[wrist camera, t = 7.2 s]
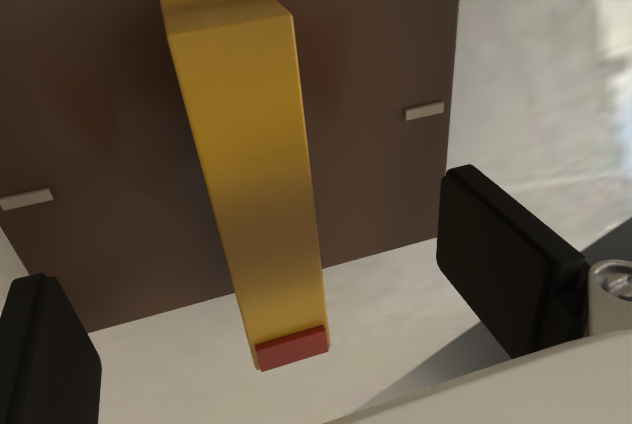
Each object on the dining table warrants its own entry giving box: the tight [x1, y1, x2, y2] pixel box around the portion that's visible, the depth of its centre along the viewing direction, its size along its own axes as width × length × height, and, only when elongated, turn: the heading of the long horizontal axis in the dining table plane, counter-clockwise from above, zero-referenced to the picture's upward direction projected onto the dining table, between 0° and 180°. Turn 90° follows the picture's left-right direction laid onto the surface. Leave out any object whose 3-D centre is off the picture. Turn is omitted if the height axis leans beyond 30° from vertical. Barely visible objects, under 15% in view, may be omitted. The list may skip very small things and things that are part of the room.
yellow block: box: [160, 0, 330, 372], centre depth 14 cm, size 10×2×5 cm, turn 5°
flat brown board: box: [0, 0, 459, 333], centre depth 17 cm, size 15×14×3 cm
